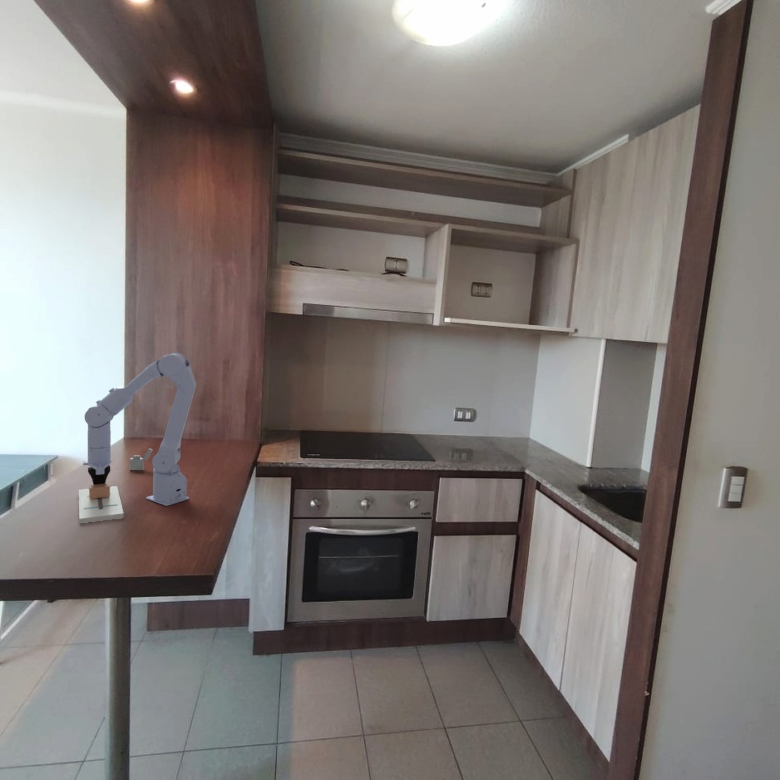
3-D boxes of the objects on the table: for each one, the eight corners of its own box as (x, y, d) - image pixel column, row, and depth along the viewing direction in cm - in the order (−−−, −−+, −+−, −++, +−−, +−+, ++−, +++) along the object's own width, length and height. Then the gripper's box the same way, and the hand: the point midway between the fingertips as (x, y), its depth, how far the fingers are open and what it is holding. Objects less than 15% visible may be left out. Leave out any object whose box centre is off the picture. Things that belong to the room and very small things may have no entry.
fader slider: (89, 495, 140) (89, 485, 139) (109, 493, 142) (109, 483, 142) (89, 498, 137) (89, 488, 137) (109, 496, 140) (109, 486, 140)
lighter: (129, 470, 170) (129, 448, 169) (130, 469, 171) (131, 447, 170) (151, 471, 172) (152, 448, 171) (152, 469, 173) (153, 447, 172)
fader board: (78, 494, 145) (78, 489, 145) (116, 490, 150) (117, 485, 150) (79, 524, 125) (79, 518, 125) (123, 518, 130) (123, 512, 130)
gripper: (82, 441, 144) (82, 485, 146) (83, 453, 132) (83, 501, 134) (109, 439, 148) (109, 482, 150) (112, 451, 136) (112, 498, 138)
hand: (99, 491), depth 142 cm, fingers closed
